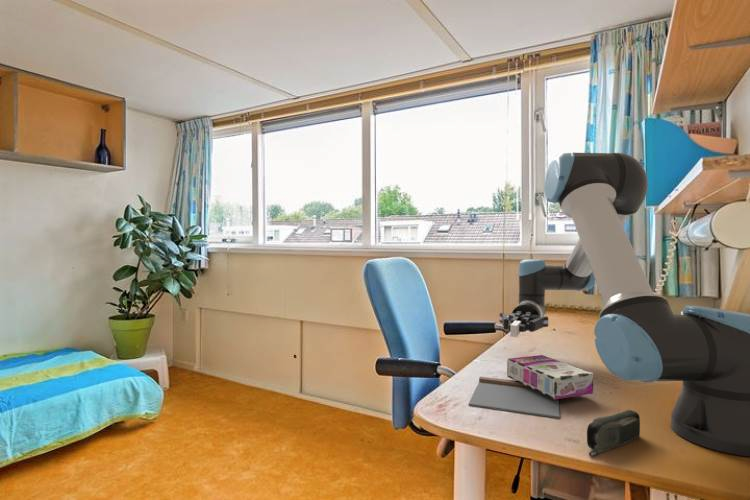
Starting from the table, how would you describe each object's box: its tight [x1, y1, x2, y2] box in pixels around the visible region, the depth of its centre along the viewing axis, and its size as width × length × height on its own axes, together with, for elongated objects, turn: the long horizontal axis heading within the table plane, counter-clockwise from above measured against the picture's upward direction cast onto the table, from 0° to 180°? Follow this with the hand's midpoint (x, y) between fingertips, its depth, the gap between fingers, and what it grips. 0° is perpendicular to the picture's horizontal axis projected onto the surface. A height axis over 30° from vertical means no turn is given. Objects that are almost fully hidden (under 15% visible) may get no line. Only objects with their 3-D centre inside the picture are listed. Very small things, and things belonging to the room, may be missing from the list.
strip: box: [478, 376, 530, 388], centre depth 103 cm, size 2×18×1 cm, turn 68°
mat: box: [468, 381, 560, 420], centre depth 95 cm, size 15×18×1 cm
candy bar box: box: [506, 354, 594, 400], centre depth 100 cm, size 11×5×16 cm
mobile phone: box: [586, 409, 641, 458], centre depth 74 cm, size 5×3×15 cm
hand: (513, 331), depth 101 cm, fingers closed
